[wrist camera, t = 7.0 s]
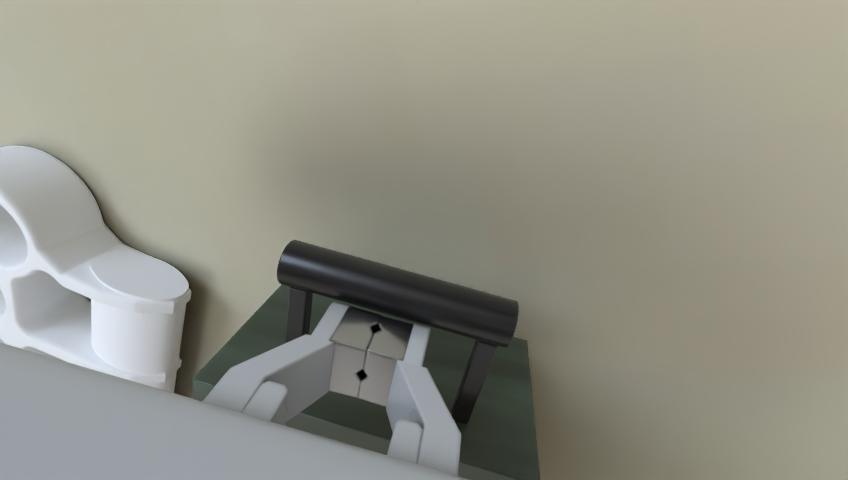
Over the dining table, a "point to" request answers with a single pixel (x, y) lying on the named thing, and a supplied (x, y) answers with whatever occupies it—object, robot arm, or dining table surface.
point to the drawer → (444, 358)
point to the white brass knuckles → (81, 278)
